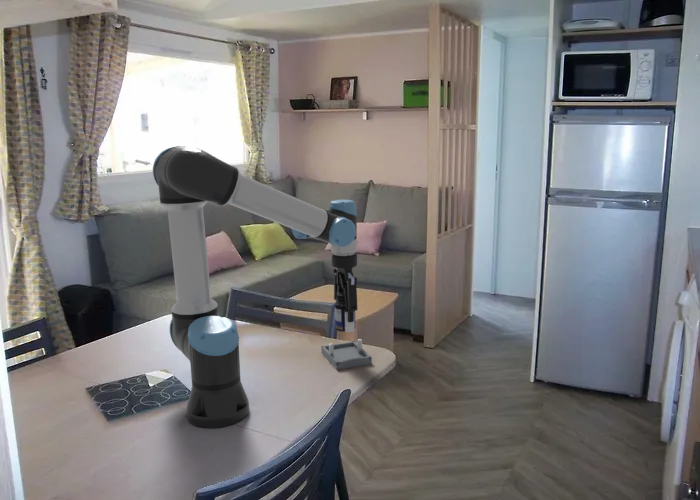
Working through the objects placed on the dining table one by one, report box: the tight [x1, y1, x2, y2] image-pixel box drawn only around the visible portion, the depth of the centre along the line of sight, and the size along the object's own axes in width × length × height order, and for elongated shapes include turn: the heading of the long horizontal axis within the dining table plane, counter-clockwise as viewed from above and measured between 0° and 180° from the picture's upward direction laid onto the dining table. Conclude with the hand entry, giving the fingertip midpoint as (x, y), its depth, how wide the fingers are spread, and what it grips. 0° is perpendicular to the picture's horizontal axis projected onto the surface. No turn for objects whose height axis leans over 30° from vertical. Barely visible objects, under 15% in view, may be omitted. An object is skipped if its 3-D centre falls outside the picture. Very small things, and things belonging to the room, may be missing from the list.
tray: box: [320, 338, 373, 370], centre depth 181 cm, size 14×11×5 cm
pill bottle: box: [334, 292, 356, 333], centre depth 178 cm, size 6×6×11 cm
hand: (345, 327), depth 179 cm, fingers closed on pill bottle, 6 cm apart
